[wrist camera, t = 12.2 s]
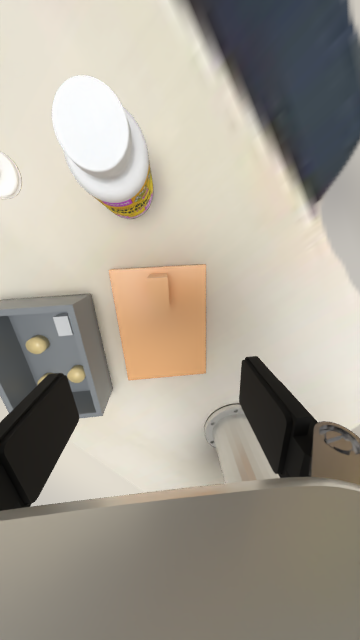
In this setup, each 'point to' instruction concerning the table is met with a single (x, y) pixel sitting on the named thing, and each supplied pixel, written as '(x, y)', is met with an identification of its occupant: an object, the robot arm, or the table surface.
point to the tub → (53, 350)
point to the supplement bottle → (103, 145)
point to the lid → (161, 319)
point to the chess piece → (9, 177)
